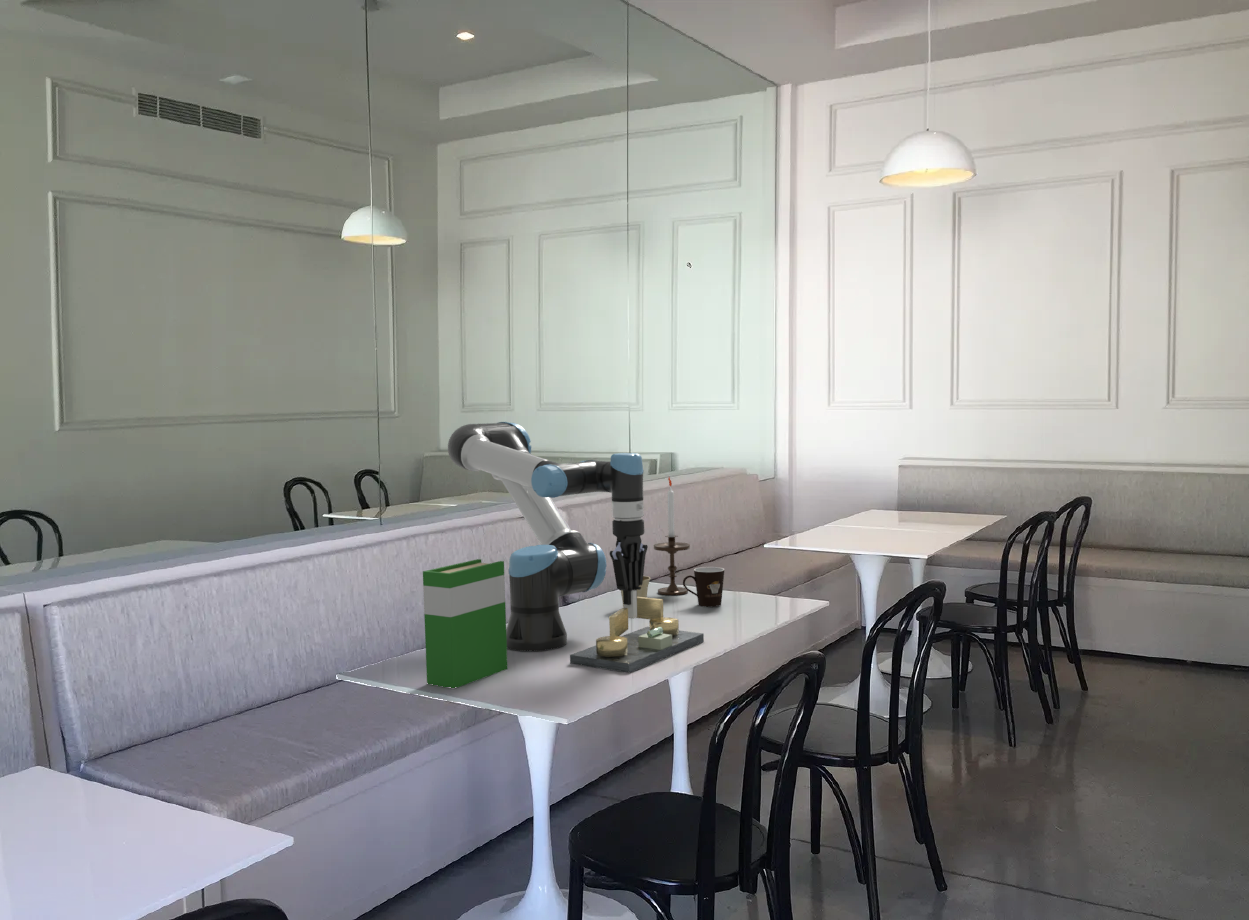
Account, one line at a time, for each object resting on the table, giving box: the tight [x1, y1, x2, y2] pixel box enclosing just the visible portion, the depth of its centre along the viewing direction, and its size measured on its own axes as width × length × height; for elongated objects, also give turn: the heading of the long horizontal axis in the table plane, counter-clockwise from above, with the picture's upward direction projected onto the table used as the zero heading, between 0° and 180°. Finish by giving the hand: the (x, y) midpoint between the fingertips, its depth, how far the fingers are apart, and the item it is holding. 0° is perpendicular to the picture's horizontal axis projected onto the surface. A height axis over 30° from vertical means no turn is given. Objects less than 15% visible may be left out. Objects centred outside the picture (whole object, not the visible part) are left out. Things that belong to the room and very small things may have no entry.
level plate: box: [569, 626, 705, 674], centre depth 244 cm, size 32×16×6 cm, turn 146°
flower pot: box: [620, 575, 651, 608], centre depth 294 cm, size 9×9×9 cm
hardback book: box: [422, 558, 508, 689], centre depth 227 cm, size 18×7×24 cm, turn 147°
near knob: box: [595, 607, 629, 657], centre depth 239 cm, size 14×7×8 cm, turn 162°
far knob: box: [636, 597, 680, 636], centre depth 255 cm, size 14×7×8 cm, turn 56°
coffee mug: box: [682, 566, 725, 608], centre depth 297 cm, size 12×9×10 cm
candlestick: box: [653, 476, 691, 597], centre depth 315 cm, size 11×11×35 cm
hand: (630, 617), depth 250 cm, fingers closed
